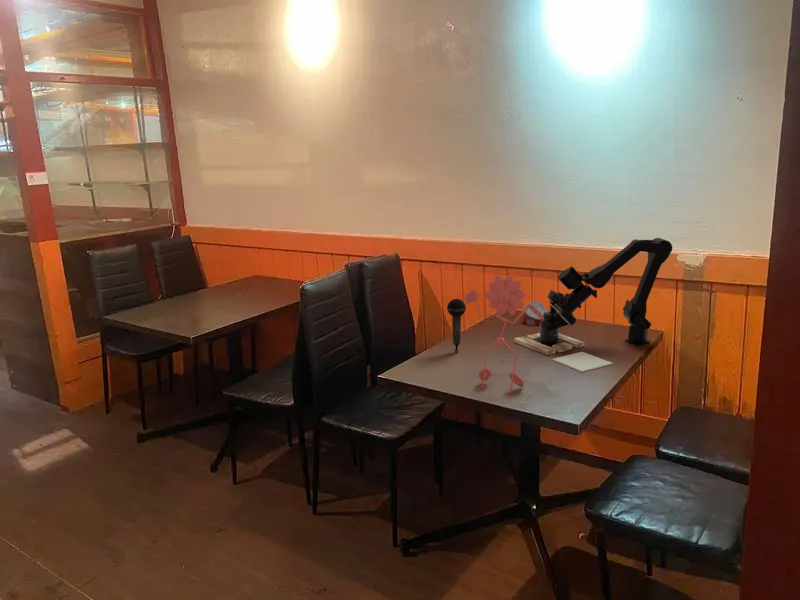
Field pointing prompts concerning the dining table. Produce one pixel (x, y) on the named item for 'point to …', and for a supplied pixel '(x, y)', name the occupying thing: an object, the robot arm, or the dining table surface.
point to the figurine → (504, 299)
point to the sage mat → (582, 361)
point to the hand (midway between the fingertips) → (545, 327)
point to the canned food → (533, 314)
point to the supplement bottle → (545, 335)
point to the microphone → (456, 319)
